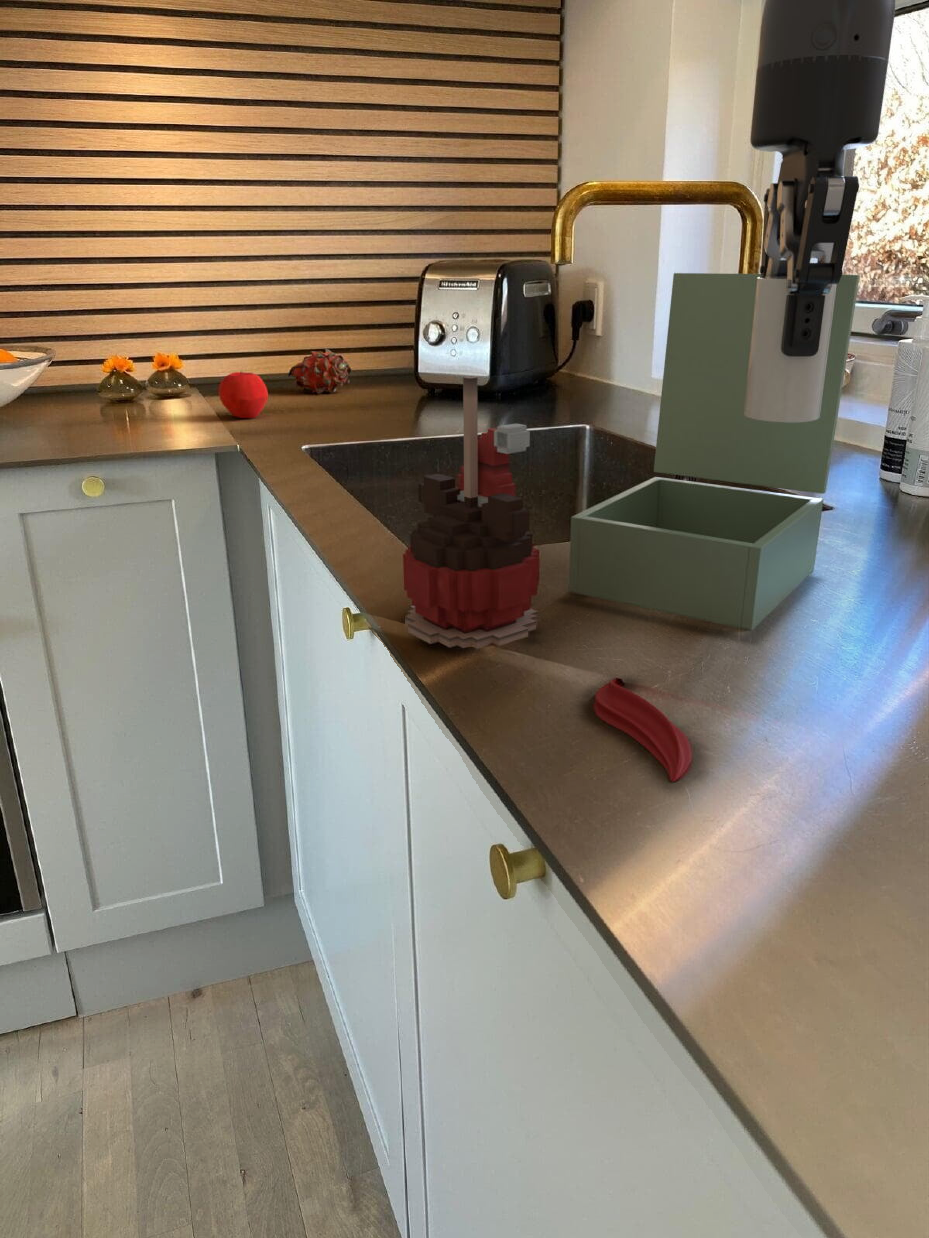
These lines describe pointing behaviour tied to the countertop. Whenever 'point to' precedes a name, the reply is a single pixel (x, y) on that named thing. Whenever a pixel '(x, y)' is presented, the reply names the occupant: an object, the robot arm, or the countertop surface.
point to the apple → (243, 394)
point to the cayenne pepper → (644, 726)
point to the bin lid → (739, 390)
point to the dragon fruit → (321, 372)
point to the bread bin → (695, 549)
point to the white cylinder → (783, 361)
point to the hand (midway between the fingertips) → (788, 350)
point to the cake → (473, 545)
